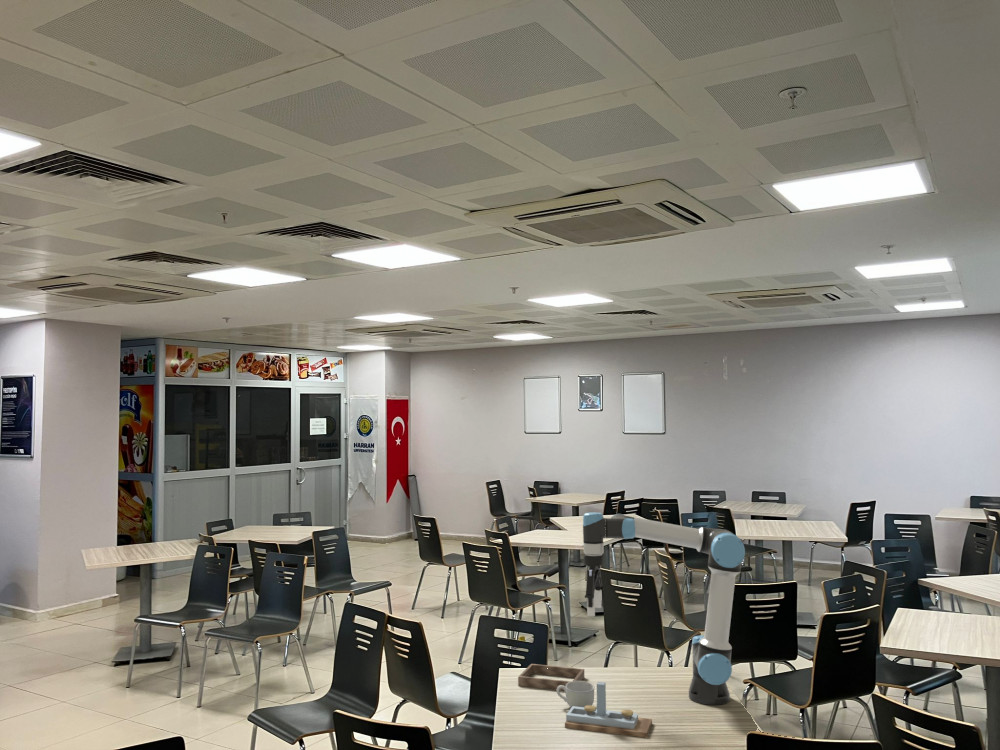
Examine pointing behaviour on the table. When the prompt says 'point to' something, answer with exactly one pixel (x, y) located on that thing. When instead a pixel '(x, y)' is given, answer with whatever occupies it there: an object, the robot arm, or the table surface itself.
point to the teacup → (578, 693)
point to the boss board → (639, 730)
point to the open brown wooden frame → (529, 681)
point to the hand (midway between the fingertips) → (594, 611)
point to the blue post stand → (601, 713)
